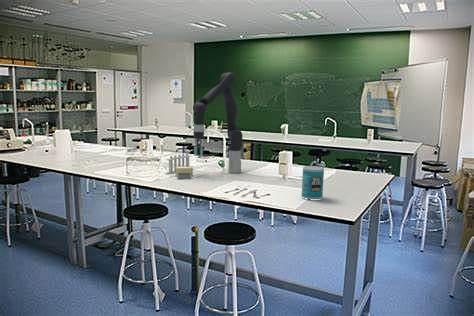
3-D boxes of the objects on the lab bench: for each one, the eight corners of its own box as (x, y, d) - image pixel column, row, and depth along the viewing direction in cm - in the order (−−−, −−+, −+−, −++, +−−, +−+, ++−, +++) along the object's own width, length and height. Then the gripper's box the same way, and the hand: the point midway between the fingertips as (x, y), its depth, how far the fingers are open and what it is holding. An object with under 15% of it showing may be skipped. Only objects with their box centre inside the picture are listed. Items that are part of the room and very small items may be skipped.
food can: (317, 202, 209) (318, 170, 206) (297, 198, 216) (299, 168, 213) (325, 197, 219) (327, 167, 216) (306, 194, 225) (308, 165, 222)
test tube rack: (170, 174, 273) (170, 157, 271) (165, 173, 275) (165, 156, 273) (192, 169, 294) (192, 153, 292) (187, 168, 296) (187, 152, 294)
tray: (190, 176, 268) (190, 172, 268) (191, 179, 259) (191, 175, 259) (177, 176, 267) (177, 173, 266) (177, 179, 258) (177, 175, 257)
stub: (202, 154, 270) (202, 146, 269) (202, 155, 265) (202, 147, 264) (194, 154, 269) (194, 146, 268) (194, 155, 265) (194, 147, 264)
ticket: (192, 174, 274) (192, 166, 272) (192, 176, 269) (192, 167, 268) (175, 174, 272) (175, 166, 271) (175, 176, 267) (175, 168, 266)
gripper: (204, 132, 258) (204, 156, 261) (203, 130, 272) (203, 153, 275) (193, 131, 257) (193, 155, 260) (193, 129, 271) (192, 152, 274)
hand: (198, 154), depth 267 cm, fingers closed on stub, 5 cm apart
